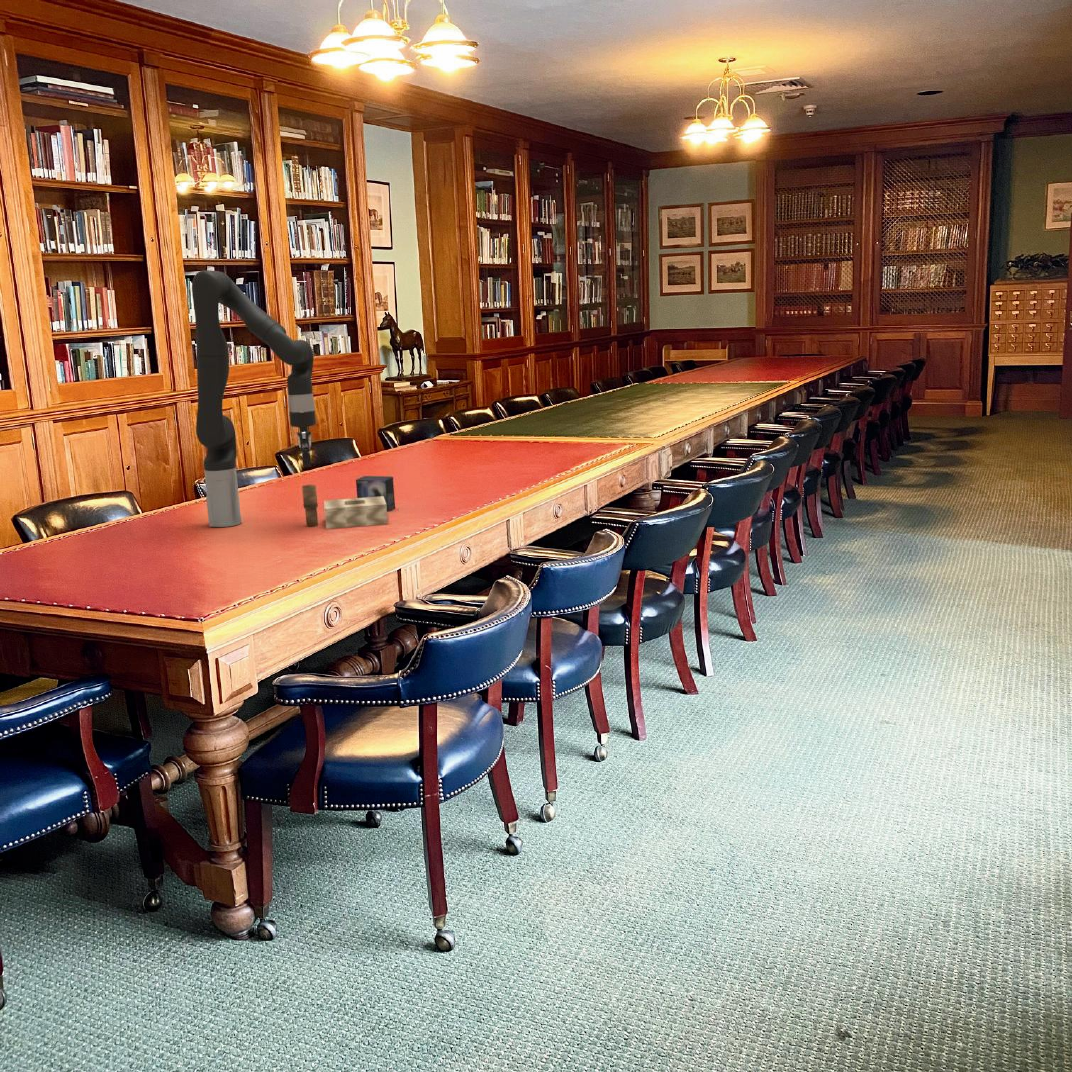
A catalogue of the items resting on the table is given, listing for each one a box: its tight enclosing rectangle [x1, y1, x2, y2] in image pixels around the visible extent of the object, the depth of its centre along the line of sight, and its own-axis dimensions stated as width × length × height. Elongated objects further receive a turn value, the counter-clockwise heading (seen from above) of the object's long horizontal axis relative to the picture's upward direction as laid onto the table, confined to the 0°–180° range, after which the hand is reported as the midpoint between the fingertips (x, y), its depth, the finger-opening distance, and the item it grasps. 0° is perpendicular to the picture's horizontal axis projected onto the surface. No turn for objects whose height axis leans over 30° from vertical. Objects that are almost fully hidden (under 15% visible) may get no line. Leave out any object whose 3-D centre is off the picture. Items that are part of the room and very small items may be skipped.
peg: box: [301, 484, 319, 528], centre depth 316 cm, size 4×4×12 cm
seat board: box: [323, 496, 389, 530], centre depth 319 cm, size 18×14×6 cm
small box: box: [355, 475, 396, 513], centre depth 336 cm, size 11×6×10 cm, turn 73°
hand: (307, 464), depth 313 cm, fingers open, 8 cm apart
